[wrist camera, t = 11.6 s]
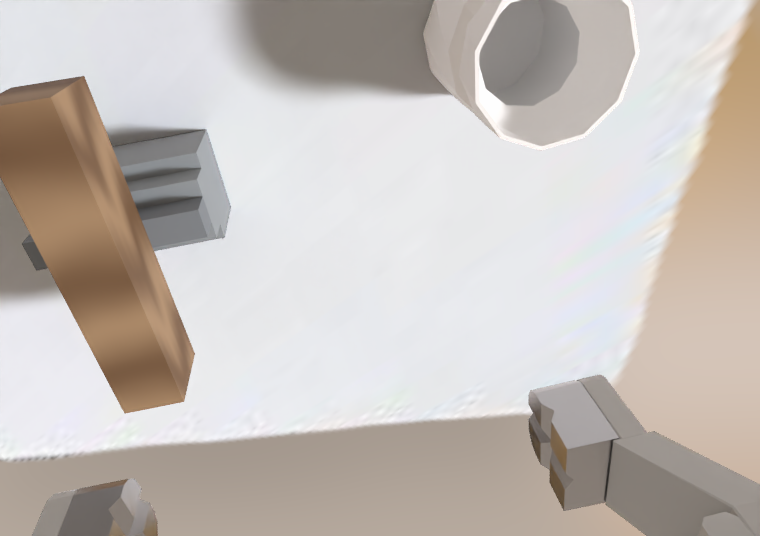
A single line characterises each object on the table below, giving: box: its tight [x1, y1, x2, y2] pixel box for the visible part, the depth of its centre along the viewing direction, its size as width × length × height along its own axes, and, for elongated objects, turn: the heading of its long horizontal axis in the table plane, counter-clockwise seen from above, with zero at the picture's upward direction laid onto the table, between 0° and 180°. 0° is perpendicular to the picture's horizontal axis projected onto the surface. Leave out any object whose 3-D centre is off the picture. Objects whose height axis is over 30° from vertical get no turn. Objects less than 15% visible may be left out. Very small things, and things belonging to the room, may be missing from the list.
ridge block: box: [22, 130, 231, 270], centre depth 35 cm, size 6×10×9 cm, turn 98°
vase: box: [423, 0, 640, 151], centre depth 32 cm, size 9×9×12 cm
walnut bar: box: [0, 76, 195, 413], centre depth 30 cm, size 18×4×4 cm, turn 7°
